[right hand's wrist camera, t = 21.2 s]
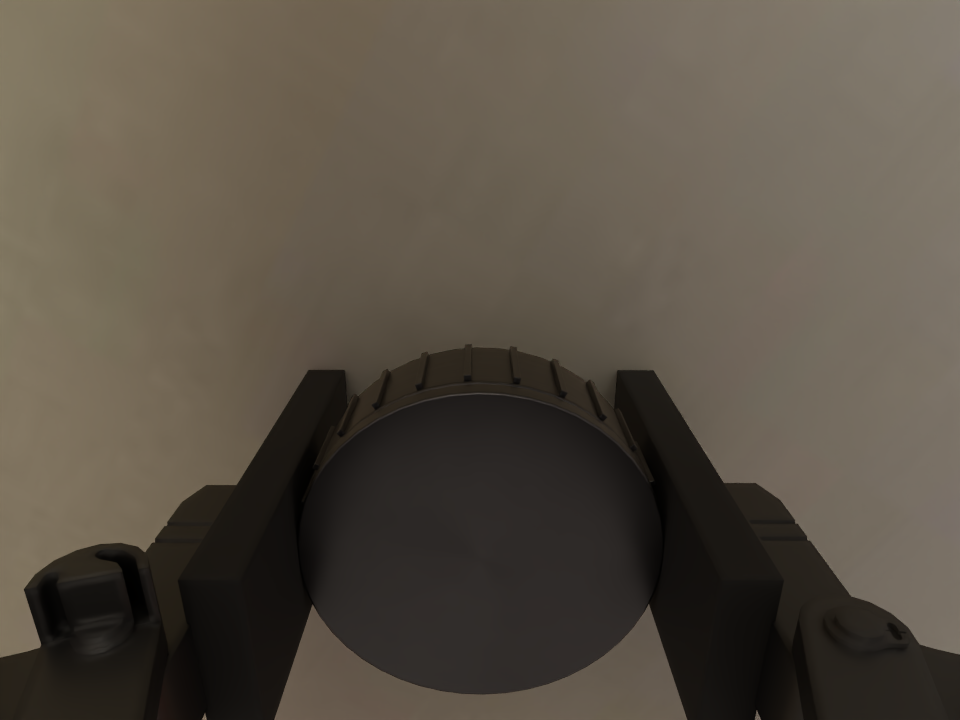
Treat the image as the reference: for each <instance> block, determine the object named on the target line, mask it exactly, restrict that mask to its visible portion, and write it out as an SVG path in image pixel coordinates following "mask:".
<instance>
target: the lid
mask: <svg viewBox="0 0 960 720" xmlns="http://www.w3.org/2000/svg"><path fill="white" fill-rule="evenodd" d="M313 469H315V471H314V473H313V475H312V478H311V480H310V482H309V484H308V487H307V489H306V491H305V494H304V496H303V498H302V500H301V505H302V510H301V514H300V518H299V523H298V534H297V548H298V557H299V565H300V571H301V575H302V579H303V583H304V585H305V588H306V590H307V593H308V595H309V598H310V600H311V602H312V604H313V605H314V607H315V609H316V611H317V612H318V614H319V616H320V617H321V619H322V620H323V621H324V622H325V624H326V625H327V626H328V628H329V629H330V630H331V631H332V633H333V634H334V635H335V636H336V637H337V638H338V639H339V640H340V641H341V642H342V643H343V644H344V645H345V646H346V647H348V648H349V649H350V650H351V651H353V652H354V653H355V654H357V655H358V656H359V657H361V658H362V659H363V660H365V661H366V662H368V663H370V664H371V665H373V666H375V667H376V668H378V669H380V670H381V671H384V672H386V673H388V674H390V675H392V676H394V677H397V678H399V679H401V680H404V681H407V682H410V683H413V684H416V685H419V686H422V687H427V688H431V689H435V690H439V691H446V692H454V693H461V694H498V693H509V692H515V691H521V690H527V689H531V688H534V687H538V686H542V685H546V684H549V683H551V682H554V681H557V680H559V679H562V678H565V677H567V676H569V675H571V674H573V673H575V672H577V671H579V670H581V669H583V668H585V667H587V666H588V665H590V664H591V663H593V662H594V661H596V660H598V659H599V658H601V657H602V656H604V655H605V654H606V653H607V652H608V651H610V650H611V649H612V648H613V647H614V646H616V645H617V644H618V643H619V642H620V641H621V640H622V639H623V638H624V637H625V636H626V635H627V634H628V632H629V631H630V630H631V629H632V628H633V627H634V626H635V624H636V623H637V621H638V620H639V619H640V617H641V616H642V614H643V613H644V612H645V610H646V608H647V606H648V604H649V602H650V600H651V598H652V596H653V594H654V592H655V589H656V586H657V583H658V580H659V577H660V574H661V568H662V561H663V553H664V528H663V521H662V515H661V511H660V508H659V505H658V502H657V498H656V495H655V493H654V491H653V488H652V487H653V486H656V483H655V480H654V478H653V476H652V474H651V472H650V469H649V467H648V465H647V463H646V460H645V458H644V456H643V454H642V452H641V449H640V447H639V445H638V443H637V441H635V442H634V440H633V437H632V435H631V433H630V431H629V428H628V426H627V424H626V422H625V419H624V417H623V415H622V413H621V411H620V410H619V408H617V409H616V410H614V409H613V408H612V406H611V405H610V404H609V403H608V402H607V401H606V400H605V399H604V398H603V397H602V395H601V394H600V393H599V392H598V391H597V389H596V387H595V384H594V382H592V381H591V380H589V381H588V382H585V381H584V380H583V379H582V378H580V377H578V376H577V375H575V374H573V373H572V372H570V371H569V370H567V369H565V368H564V367H561V366H560V365H559V361H558V360H555V359H552V361H551V362H550V361H548V360H546V359H543V358H540V357H536V356H533V355H530V354H526V353H523V352H518V351H517V348H516V347H510V350H506V349H499V348H472V344H469V345H465V349H454V350H449V351H444V352H440V353H435V354H431V355H429V354H428V352H425V353H422V355H421V358H419V359H416V360H413V361H411V362H409V363H407V364H405V365H402V366H400V367H398V368H396V369H394V370H392V371H391V372H390V371H389V370H388V369H386V370H385V371H383V372H382V375H381V378H380V379H379V380H377V381H376V382H374V383H373V384H372V385H371V386H370V387H369V388H367V389H366V390H365V391H364V392H363V393H362V394H361V395H359V396H357V395H354V396H353V397H352V398H351V400H350V402H349V405H348V407H347V410H346V412H345V413H344V415H343V417H342V418H341V420H340V421H339V423H338V425H337V426H336V427H334V426H331V428H330V430H329V432H328V434H327V436H326V439H325V441H324V443H323V445H322V448H321V450H320V452H319V454H318V457H317V459H316V461H315V463H314V466H313Z"/></svg>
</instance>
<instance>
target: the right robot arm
mask: <svg viewBox="0 0 960 720" xmlns="http://www.w3.org/2000/svg"><path fill="white" fill-rule="evenodd" d="M617 408H619V410H620V411H621V413H622V415H623V417H624V419H625V422H626V424H627V426H628V428H629V431H630V433H631V435H632V437H633V440H634V442H635V441H637V443H638V445H639V447H640V449H641V452H642V454H643V456H644V458H645V460H646V463H647V465H648V467H649V469H650V472H651V474H652V476H653V478H654V480H655V483H656V486H653V487H652V488H653V491H654V493H655V495H656V498H657V502H658V505H659V508H660V511H661V515H662V521H663V528H664V553H663V561H662V568H661V574H660V577H659V580H658V583H657V586H656V589H655V592H654V594H653V596H652V598H651V600H650V602H649V605H650V608H651V611H652V614H653V617H654V620H655V623H656V626H657V629H658V632H659V635H660V638H661V641H662V644H663V647H664V650H665V653H666V656H667V659H668V662H669V666H670V669H671V672H672V675H673V678H674V681H675V684H676V687H677V690H678V693H679V696H680V699H681V702H682V705H683V708H684V711H685V714H686V717H687V720H755V716H756V711H758V713H759V716H760V718H761V720H960V655H958V654H954V653H950V652H945V651H941V650H937V649H933V648H929V647H926V646H923V645H919V643H918V642H917V640H916V639H915V637H914V636H913V634H912V633H911V631H910V630H909V628H908V627H907V626H906V625H904V624H903V623H902V622H901V621H900V620H898V619H897V618H896V617H895V616H894V615H892V614H891V613H889V612H887V611H886V610H884V609H882V608H880V607H878V606H876V605H874V604H872V603H870V602H867V601H864V600H861V599H857V598H854V597H851V596H850V594H849V593H848V592H847V590H846V589H845V588H844V586H843V585H842V583H841V582H840V581H839V579H838V578H837V577H836V575H835V574H834V573H833V571H832V570H831V569H830V567H829V566H828V564H827V563H826V562H825V560H824V559H823V558H822V556H821V555H820V554H819V552H818V551H817V550H816V548H815V547H814V545H813V544H812V543H811V541H807V536H806V535H805V533H804V532H803V530H802V529H801V528H800V526H799V525H798V524H795V520H794V518H793V517H792V516H791V514H790V513H789V511H788V510H787V509H786V507H785V506H784V505H783V503H782V502H781V501H780V500H779V499H778V498H776V497H775V496H773V495H772V494H771V493H769V492H768V491H766V490H765V489H763V488H762V487H760V486H759V485H758V484H756V483H723V481H722V480H721V478H720V476H719V475H718V473H717V472H716V470H715V468H714V467H713V465H712V464H711V462H710V460H709V459H708V457H707V456H706V454H705V452H704V451H703V449H702V448H701V446H700V444H699V443H698V441H697V440H696V438H695V436H694V435H693V433H692V432H691V430H690V428H689V427H688V425H687V424H686V422H685V420H684V419H683V417H682V416H681V414H680V412H679V411H678V409H677V408H676V406H675V404H674V403H673V401H672V400H671V398H670V396H669V395H668V393H667V391H666V390H665V388H664V387H663V385H662V383H661V382H660V380H659V379H658V377H657V375H656V374H655V372H654V371H638V370H618V372H617V384H616V395H615V407H614V410H616V409H617ZM346 410H347V397H346V385H345V373H344V370H308V372H307V374H306V375H305V377H304V378H303V380H302V382H301V383H300V385H299V386H298V388H297V390H296V391H295V393H294V394H293V396H292V398H291V399H290V401H289V402H288V404H287V406H286V407H285V409H284V410H283V412H282V414H281V415H280V417H279V418H278V420H277V422H276V423H275V425H274V426H273V428H272V430H271V431H270V433H269V434H268V436H267V438H266V439H265V441H264V442H263V444H262V446H261V447H260V449H259V450H258V452H257V454H256V455H255V457H254V458H253V460H252V462H251V463H250V465H249V466H248V468H247V470H246V471H245V473H244V474H243V476H242V478H241V479H240V481H239V482H238V484H237V485H206V486H205V487H203V488H202V489H200V490H199V491H197V492H196V493H195V494H193V495H192V496H190V497H189V498H187V499H186V500H185V501H183V502H182V503H181V504H180V506H179V507H178V508H177V510H176V511H175V512H174V514H173V515H172V517H171V518H170V519H169V521H168V522H167V523H168V524H167V526H164V528H163V529H162V530H161V532H160V533H159V534H158V536H157V537H156V538H155V543H152V544H151V545H150V547H149V548H148V549H147V551H146V552H145V553H144V552H143V551H142V550H141V549H140V548H139V547H137V546H132V545H128V544H123V543H113V544H99V545H95V546H91V547H88V548H84V549H80V550H76V551H74V552H72V553H70V554H68V555H65V556H63V557H61V558H59V559H57V560H55V561H53V562H52V563H50V564H49V565H48V566H46V567H45V568H43V569H42V570H41V571H39V572H38V573H37V574H35V576H34V577H33V578H32V579H31V581H30V582H29V583H28V585H27V586H26V587H25V589H24V591H25V594H26V598H27V601H28V604H29V607H30V610H31V613H32V616H33V620H34V623H35V626H36V629H37V632H38V635H39V638H40V642H41V647H40V648H38V649H35V650H31V651H28V652H23V653H19V654H15V655H10V656H6V657H2V658H0V720H202V718H203V716H204V713H206V718H207V720H274V718H275V715H276V712H277V709H278V706H279V703H280V700H281V697H282V694H283V691H284V688H285V685H286V682H287V679H288V676H289V673H290V670H291V667H292V664H293V661H294V658H295V655H296V652H297V649H298V646H299V643H300V640H301V637H302V634H303V631H304V628H305V625H306V622H307V619H308V616H309V613H310V610H311V607H312V602H311V600H310V598H309V595H308V593H307V590H306V588H305V585H304V583H303V579H302V575H301V571H300V565H299V557H298V548H297V534H298V523H299V518H300V514H301V510H302V505H301V500H302V498H303V496H304V494H305V491H306V489H307V487H308V484H309V482H310V480H311V478H312V475H313V473H314V471H315V469H313V466H314V463H315V461H316V459H317V457H318V454H319V452H320V450H321V448H322V445H323V443H324V441H325V439H326V436H327V434H328V432H329V430H330V428H331V426H334V427H336V426H337V425H338V423H339V421H340V420H341V418H342V417H343V415H344V413H345V412H346Z"/></svg>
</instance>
